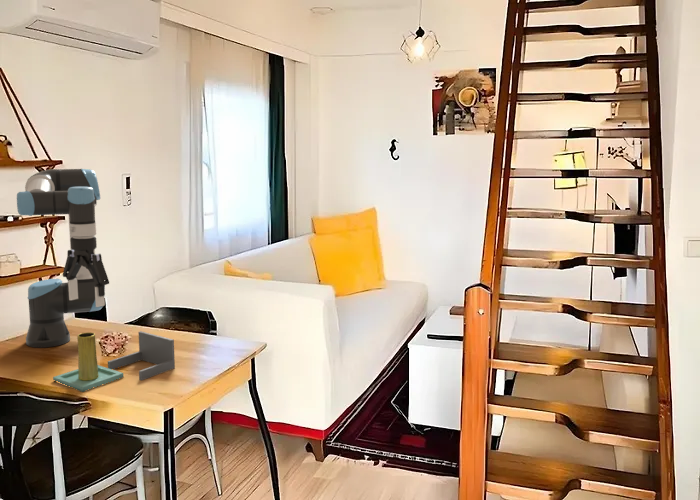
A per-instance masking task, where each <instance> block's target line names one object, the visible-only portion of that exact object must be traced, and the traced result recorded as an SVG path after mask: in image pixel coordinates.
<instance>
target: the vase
mask: <svg viewBox="0 0 700 500" xmlns="http://www.w3.org/2000/svg"><path fill="white" fill-rule="evenodd" d="M76 337H77V338H76V339H77V349H78V350H77V351H78V379H79V380H82V381H90V380H94V379H96V378H98V377H99V374H98V365H99V364H98V357H97V344H96V342H97V341H96V333H95V332H89V331H88V332H82V333H79V334H78V335H76Z"/></svg>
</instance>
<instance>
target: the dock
mask: <svg viewBox="0 0 700 500" xmlns="http://www.w3.org/2000/svg"><path fill="white" fill-rule="evenodd" d="M140 361H144V362H147V363H150V364H155V365H150V366H149V367H146V368H143V369H141V370H138V379H139V381H144V380H147V379H150V378H152V377H155V376H158V375H160V374H163V373H166V372H168V371H171V370H173V369H175V367H176V365H175V361H176V360H175V340H174V339H172V338H168V337H165V336H161V335H157V334H153V333H149V332H145V331H141V330H140V331H138V351H136V352H132V353H129V354H126V355H124V356H120V357H117V358H114V359H111V360H108V361H107V368H109V369H113V370H116V369H119V368H122V367H125V366H127V365H131V364H133V363H137V362H140ZM121 366H122V367H121ZM118 367H119V368H118ZM115 368H116V369H115Z"/></svg>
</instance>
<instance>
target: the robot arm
mask: <svg viewBox="0 0 700 500" xmlns="http://www.w3.org/2000/svg"><path fill="white" fill-rule="evenodd" d="M99 187H100V185H99V182H98V178H97V173H96V172H95V171H94V170H93V169H91V168H90V169H86V168H63V169H62V168H60V169H56V168H53V169H46V170H45V169H44V170H42V171H39V172H37V173H34V174H33V175H31V176H29V178H28V179H27V180H26V181H25V186H24V190H25V191H18V192H17V194H16V208H17V209H16V210H17V212H18V213H17V214H18V215H20V216H29V217H32V216H48V215H57V216H58V215H68V229H69V245H70V246H69V247H70V249H68V250H67V254H66V255H67V256H66V261H65V265H64V267H63V271H62V272H63V273H62V277H63V278H66V280H67V282H63V280H62V279H60V278H48V279H42V280H40V281H37V282H34V283H32V284H30V285H29V286H28V289H27V300H28V311H29V314H28V315H29V325H28V329H27V333H26V336H25V344H26V346H28V347H30V348H40V349H41V348H52V347H57V346H61V345H64V344H67V343H69V342H70V341H71V335H70V334H71V333H70V330H69V329H68V326H67V324H66V322H65V317H64V315H65V314H74V313H75V314H76V313H87V312H89V313H91V312H96V311H100V310H101V309H102V308H103V307H104V306H105V305H106V303H105V302H106V301H105V300H106V299H105V295H106V293H105V291H106V288H105V286H107V285H110V281H109V277H108V275H107V271H106V269H105V266H104V263H103V257H102V254H101V253H96V251H95V250H96V249H97V238H96V235H97V227H96V226H97V223H96V210H95V209H96V208H95V207H97V203H98V202H97V201H99V200H101V194H100V192H101V191H100V188H99Z"/></svg>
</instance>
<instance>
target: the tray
mask: <svg viewBox="0 0 700 500" xmlns="http://www.w3.org/2000/svg"><path fill="white" fill-rule="evenodd" d="M97 365H98V374H99V377H98V378H96V379H94V380H90V381H82V380H79V379H78V369H74V370H71V371H68V372H65V373H62V374H58V375H56V376H55V375H54V376H53V377H52V379H53V380H55V381H58V382H60V383H62V384H65V385H67V386H70V387H73V388H75V389H74V390H76V389H77V390H76V391H78V392H82V393H83V392H87V391H89V390H88V389H90V390H92V389H94V388H93V387H95V388H98V387H101V386H103V385H102V384H104V385H106V383H107V384H109V383H112V382H115V381H117V380H116V379H118V380H120V379H119V378H121V379H123V378H124V372H121V371H118V370H116V369H113V370H112V369H109V368H108V367H105V366H103V365H99V364H97ZM122 377H123V378H122ZM53 380H52V381H53ZM114 380H115V381H114ZM111 381H112V382H111ZM108 382H109V383H108ZM62 384H61V385H62ZM65 385H64V386H65ZM100 385H101V386H100ZM67 386H66V387H67ZM97 386H98V387H97ZM70 387H69V388H70ZM73 388H72V389H73ZM91 388H92V389H91ZM86 390H87V391H86Z"/></svg>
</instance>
